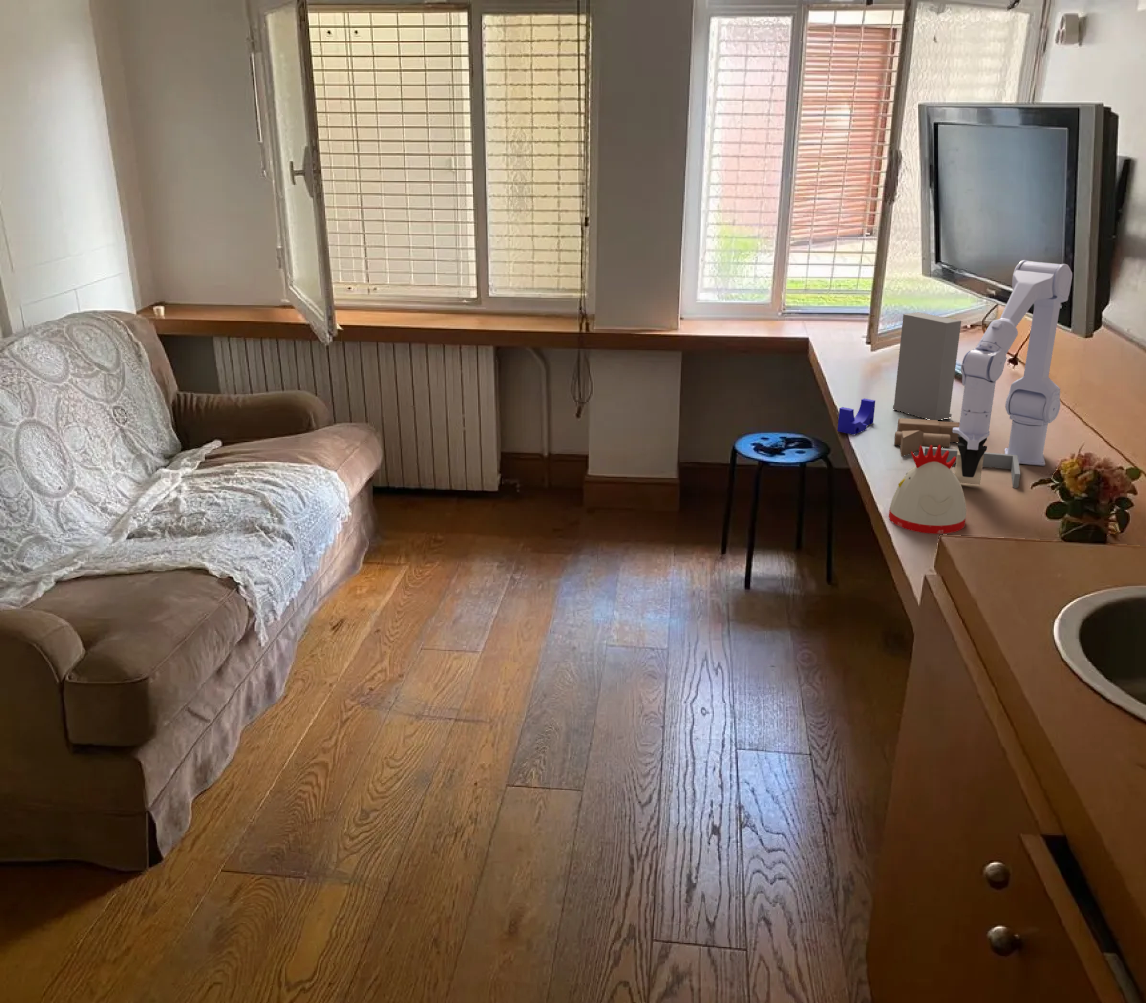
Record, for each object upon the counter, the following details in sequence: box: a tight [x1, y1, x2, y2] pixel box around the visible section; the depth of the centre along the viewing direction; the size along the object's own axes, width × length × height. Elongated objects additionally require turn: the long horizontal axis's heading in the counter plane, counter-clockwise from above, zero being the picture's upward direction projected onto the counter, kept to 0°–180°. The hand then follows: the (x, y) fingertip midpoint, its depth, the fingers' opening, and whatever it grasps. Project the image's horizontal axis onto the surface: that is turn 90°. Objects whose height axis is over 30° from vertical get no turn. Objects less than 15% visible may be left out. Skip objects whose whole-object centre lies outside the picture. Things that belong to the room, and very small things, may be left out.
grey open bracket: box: [922, 447, 1021, 489], centre depth 219 cm, size 13×20×3 cm, turn 70°
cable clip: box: [837, 398, 876, 436], centre depth 250 cm, size 12×4×6 cm, turn 136°
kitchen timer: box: [888, 445, 967, 535], centre depth 192 cm, size 14×14×15 cm
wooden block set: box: [893, 417, 960, 457], centre depth 235 cm, size 17×6×18 cm
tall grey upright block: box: [892, 311, 962, 420], centre depth 257 cm, size 14×6×25 cm, turn 31°
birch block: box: [954, 448, 984, 486], centre depth 210 cm, size 4×5×6 cm
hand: (967, 472), depth 211 cm, fingers closed on birch block, 4 cm apart
